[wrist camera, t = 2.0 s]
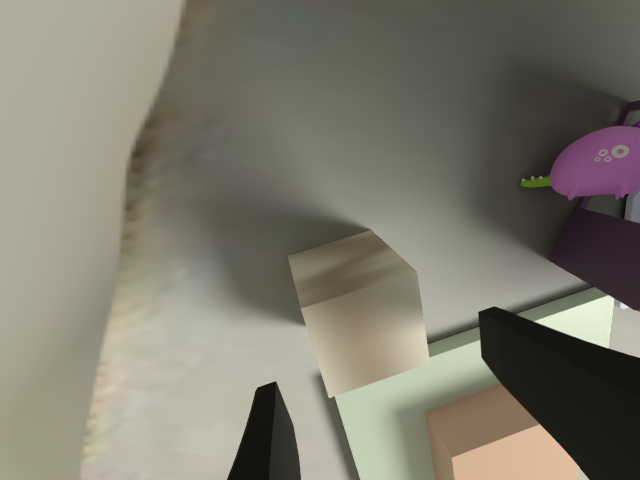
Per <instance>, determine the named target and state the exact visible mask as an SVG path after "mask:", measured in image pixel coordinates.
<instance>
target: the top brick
mask: <svg viewBox="0 0 640 480" xmlns="http://www.w3.org/2000/svg"><path fill="white" fill-rule="evenodd" d="M288 260H289V264H290V268H291V272H292V276H293V280H294V284H295V288H296V292H297V296H298V300H299V304H300V308H301V311H302V315H303V318H304V321H305V324H306V327H307V330H308V334H309V337H310V340H311V343H312V346H313V349H314V352H315V356H316V359H317V362H318V365H319V368H320V371H321V375H322V378H323V381H324V384H325V387H326V390H327V393H328V397H329V398H332V397H334V396H337V395H340V394H343V393H346V392H349V391H352V390H354V389H357V388H360V387H363V386H366V385H369V384H372V383H374V382H377V381H380V380H383V379H386V378H389V377H392V376H394V375H397V374H400V373H403V372H406V371H409V370H412V369H414V368H417V367H420V366H423V365H426V364H429V363H430V359H429V352H428V345H427V338H426V332H425V325H424V318H423V311H422V304H421V298H420V291H419V284H418V277H417V271H416V270H415V269H413V268H412V267H411V266H410V265H409V264H408V263H407V262H406V261H405V260H404V259H402V258H401V257H400V256H399V255H398V254H397V253H396V252H395V251H394V250H393V249H392V248H390V247H389V246H388V245H387V244H386V243H385V242H384V241H383V240H382V239H381V238H380V237H378V236H377V235H376V234H375V233H374V232H373V231H372V230H370V231H366V232H363V233H360V234H356V235H353V236H350V237H347V238H343V239H340V240H337V241H333V242H330V243H327V244H324V245H320V246H317V247H314V248H311V249H307V250H304V251H301V252H297V253H294V254H291V255H288Z"/></svg>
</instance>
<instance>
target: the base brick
mask: <svg viewBox="0 0 640 480" xmlns="http://www.w3.org/2000/svg"><path fill="white" fill-rule="evenodd" d="M424 412H425V418H426V424H427V430H428V436H429V442H430V447H431V453H432V459H433V465H434V471H435V477H436V480H578V471H579V466H578V465H577V464H576V463H575V461H574V460H573V459H572V458H571V457H570V456H569V455H568V453H567V452H566V451H565V450H564V449H563V448H562V447H561V446H560V445H559V444H558V443H557V441H556V440H555V439H554V438H553V437H552V436H551V435H550V434H549V433H548V432H547V431H546V430H545V429H544V428H543V427H542V426H541V425H540V424H539V423H538V422H537V421H536V420H535V419H534V418H533V417H532V416H531V415H530V414H529V412H528V411H527V410H526V409H525V408H524V407H523V406H522V405H521V404H520V403H519V402H518V401H517V400H516V399H515V398H514V397H513V396H512V395H511V394H510V393H509V392H508V391H507V389H506V388H505V387H504V386H503V385H502V384H498V385H496V386H493V387H490V388H487V389H485V390H482V391H479V392H476V393H474V394H471V395H468V396H465V397H463V398H460V399H457V400H454V401H452V402H449V403H446V404H443V405H441V406H438V407H435V408H432V409H430V410H427V411H424Z"/></svg>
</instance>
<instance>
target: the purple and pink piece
mask: <svg viewBox="0 0 640 480" xmlns="http://www.w3.org/2000/svg"><path fill="white" fill-rule="evenodd" d="M638 110H640V100H639V101H635V102H631V103H630V104H629V106H628V108H627V110H626V112H625V114H624V116H623V118H622V119H621V121H620V123H619V125H618V126H614V127H608V128H604V129H601V130H597V131H595V132H592V133H590V134H588V135H585V136H583V137H582V138H580V139H578V140H576V141H575V142H573V143H572V144H570V145H569V146H568V147H567V148H565V149H564V150H563V151H562V152H561V153H560V155H559V156H558V157H557V159H556V160H555V162H554V164H553V166H552V169H551V173H550V175H549V176H547V177H542V176H541V175H540V177H539V178H537V179H534V176H532V177H531V179H530V180H525V179H524V178H523V180H522V179H521V180H522V181H521V183H520V185H521V186H522V187H530V188H534V187H544V186H552V188H553V189H554V190H555V191H556V192H557V193H559V194H561V195H565V196H568V200H572V199H574V198H575V197H581V196H582V197H581V199H580V201H579V203H578V205H577V207H576V209H575V211H574V212H573V214H572V216H571V218H570V220H569V222H568V224H567V226H566V228H565V230H564V232H563V234H562V236H561V238H560V240H559V242H558V243H557V245H556V247H555V249H554V251H553V253H552V255H551V257H550V259H549V261H550V262H552V263H554V264H556V265H557V266H559V267H561V268H562V269H564V270H566V271H568V272H569V273H571V274H573V275H575V276H576V277H578V278H580V279H581V280H583V281H585V282H587V283H588V284H590V285H592V286H594V287H595V288H597V289H599V290H601V291H602V292H604V293H606V294H607V295H609V296H611V297H613V298H614V299H616V300H618V301H620V302H621V303H623V304H625V305H626V306H628V307H630V308H632V309H633V310H636V311H640V223H637V222H633V221H629V220H625V219H621V218H617V217H613V216H609V215H605V214H601V213H597V212H593V211H589V210H585V208H586V206H587V204H588V202H589V200H590V198H591V196H594V195H612V194H615V198H616V199H619V197H620V196H621V197H622V198H623V197H624V196H625V195H626V194H630V193H635V192H638V191H640V121H639V122H637V123H635V124H633V125H631V126H629V124H630V122H631V120H632V118H633V116H634V114H635V113H636V111H638Z"/></svg>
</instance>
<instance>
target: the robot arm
mask: <svg viewBox="0 0 640 480" xmlns="http://www.w3.org/2000/svg"><path fill="white" fill-rule="evenodd" d="M624 219H625V220H629V221H633V222H637V223H640V191H638V192H635V193H630V194H629V195H628V197H627V201H626V209H625V217H624ZM614 304H615V306H617V307H619V308H621V309H625V308H628V306H626V305H625V304H623V303H621V302H620V301H618V300H616V299H614ZM478 314H479V329H480V344H481V358H482V359H483V360H484V362H485V363H486V364H487V366H488V367H489V369H490V370H491V371H492V373H493V374H494V375H495V376H496V378H497V379H498V380H499V381H500V383H501V384H502V385H503V386H504V387H505V388H506V389H507V391H508V392H509V393H510V394H511V395H512V396H513V397H514V398H515V399H516V400H517V401H518V402H519V403H520V404H521V405H522V406H523V407H524V408H525V409H526V410H527V411H528V412H529V414H530V415H531V416H532V417H533V418H534V419H535V420H536V421H537V422H538V423H539V424H540V425H541V426H542V427H543V428H544V429H545V430H546V431H547V432H548V433H549V434H550V435H551V436H552V437H553V438H554V439H555V440H556V441H557V443H558V444H559V445H560V446H561V447H562V448H563V449H564V450H565V451H566V452H567V453H568V455H569V456H570V457H571V458H572V459H573V460H574V461H575V463H576V464H577V465H578V466H579V467H580V469H581V470H582V471H583V472H584V474H585V475H586V476H587V477H588V478H589V480H640V358H638V357H634V356H631V355H628V354H624V353H621V352H618V351H615V350H611V349H608V348H605V347H602V346H599V345H596V344H593V343H590V342H587V341H585V340H582V339H579V338H576V337H573V336H571V335H568V334H565V333H563V332H560V331H557V330H555V329H552V328H549V327H547V326H544V325H542V324H539V323H536V322H534V321H531V320H529V319H526V318H524V317H521V316H519V315H516V314H514V313H511V312H508V311H506V310H503V309H500V308H497V307H492V308H489V309H486V310H483V311H480V312H478ZM227 480H301V475H300V463H299V455H298V449H297V443H296V438H295V432H294V427H293V423H292V421H291V418H290V416H289V413H288V411H287V408H286V405H285V403H284V400H283V398H282V395H281V393H280V390H279V388H278V385H277V382H276V381H275V382H272V383H269V384H266V385H264V386H261V387H258V388H257V390H256V391H255V396H254V400H253V403H252V407H251V411H250V414H249V418H248V421H247V425H246V428H245V431H244V434H243V437H242V440H241V443H240V446H239V449H238V452H237V455H236V458H235V460H234V463H233V466H232V468H231V471H230V473H229V476H228V478H227Z"/></svg>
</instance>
